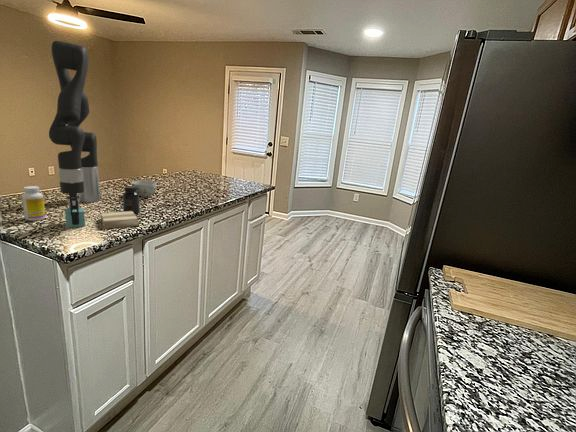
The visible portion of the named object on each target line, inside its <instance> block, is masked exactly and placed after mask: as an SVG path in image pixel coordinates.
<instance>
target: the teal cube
mask: <svg viewBox="0 0 576 432" xmlns="http://www.w3.org/2000/svg"><path fill="white" fill-rule="evenodd" d="M72 212H77V210H72ZM64 216H65V224H66V225H65V226H66V228H68V229H69V228H70V229H71V228H81V227H86V217H85V210H84V207H80V209H79V224H78V225H73V224H72V216H71V210H69V207H68V208H65V209H64Z"/></svg>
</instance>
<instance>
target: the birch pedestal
mask: <svg viewBox="0 0 576 432" xmlns="http://www.w3.org/2000/svg"><path fill="white" fill-rule="evenodd" d="M100 220H101V222H102V226H103V228H104V229H116V228H127V227H137V226H139V225H138V220H139V219H138V217H137V216H136V214H134V213H133V211H111V212H110V211H109V212H100Z"/></svg>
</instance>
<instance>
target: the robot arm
mask: <svg viewBox="0 0 576 432" xmlns="http://www.w3.org/2000/svg"><path fill="white" fill-rule="evenodd" d="M51 56H52V60H53V63H54V68H55V71H56V75H57V78H58V83H59V87H60V92H59V95H58V96H57V105H56V113H55V115H54V120H53V121H52V123H51V125H50V127H49V131H48V137H49V139H50V141H51V142H52V143H53V144H55V145H57V146H70V148H71V150H65V151H64V150H63V151H60V152H58V154H57V163H58V180H59V189H60V192H61V193H62V194H66V195H67V194H68V195H67V196H66V200H67V201H66V202H67V203H68V208H69V210H71V216H72V224H73V225H78V224H79V209H80V208H81V206H80V202H81V203H96V202H99V201H100V200H101V192H100V177H99V163H98V151H97V150H98V140H97V135H96V134H95V133H94V132H87V131H84V130H83V128H81V127H80V126H81V125H82V124H83V122H84V121H85V120H86V118H87V117H88V116H89V114H90V103H89V98H88V96H87V93H85V91H84V88H85V84H86V79H87V74H88V69H89V53H88V50H87V49H86V47H84V46H83V45H79V44H75V43H71V42H66V41H61V40H54V41H53V42H52V43H51ZM69 70H70V71H71V70H72V71H75V74H74V76H73V77H72V75H71V74H70V72H69ZM82 153H88V155H85V156H83V157H82ZM72 210H77V212H72Z"/></svg>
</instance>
